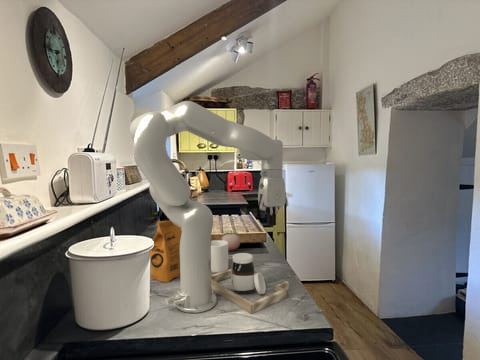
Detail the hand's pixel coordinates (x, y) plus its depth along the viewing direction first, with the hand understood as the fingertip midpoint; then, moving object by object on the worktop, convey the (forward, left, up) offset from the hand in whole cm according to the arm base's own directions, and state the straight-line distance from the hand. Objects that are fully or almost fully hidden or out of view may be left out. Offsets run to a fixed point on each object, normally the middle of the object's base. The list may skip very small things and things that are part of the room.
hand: (271, 224), depth 104 cm
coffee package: (-28, +28, -21) cm, 45 cm away
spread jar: (-12, -1, -21) cm, 24 cm away
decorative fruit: (+8, +35, -21) cm, 42 cm away
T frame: (-11, 0, -21) cm, 23 cm away
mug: (-8, +22, -21) cm, 31 cm away
